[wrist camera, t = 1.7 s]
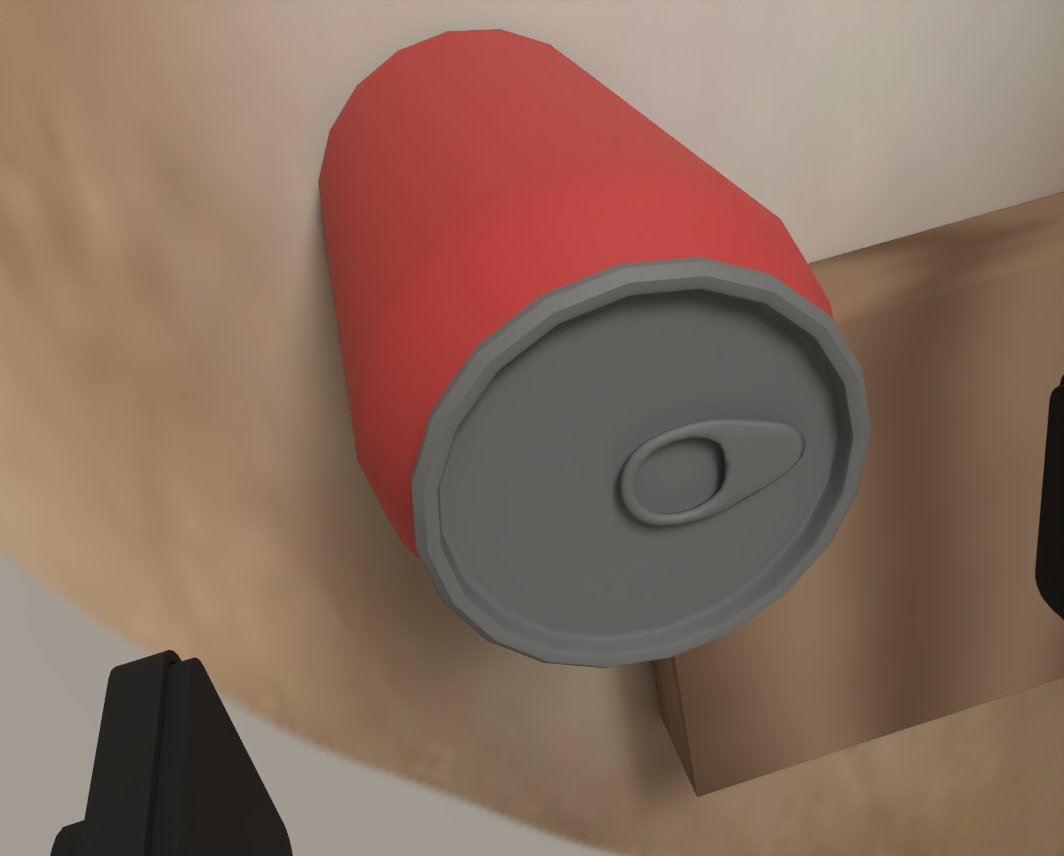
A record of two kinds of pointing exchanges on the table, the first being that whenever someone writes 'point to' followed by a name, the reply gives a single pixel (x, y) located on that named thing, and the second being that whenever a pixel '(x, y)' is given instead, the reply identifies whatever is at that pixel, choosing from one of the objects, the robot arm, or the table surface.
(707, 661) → the walnut base
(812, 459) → the beer can
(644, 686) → the table surface
